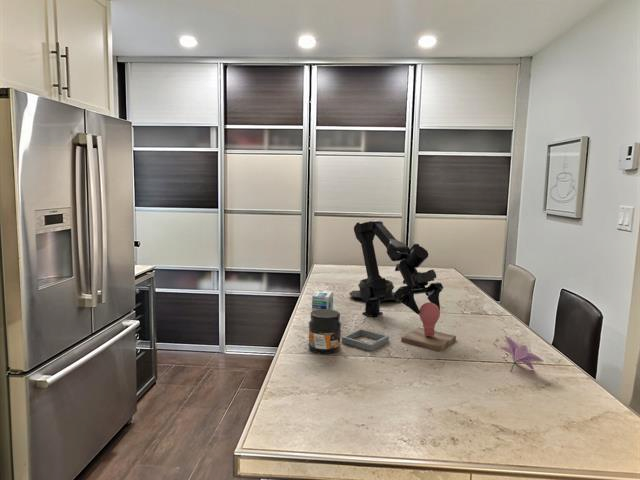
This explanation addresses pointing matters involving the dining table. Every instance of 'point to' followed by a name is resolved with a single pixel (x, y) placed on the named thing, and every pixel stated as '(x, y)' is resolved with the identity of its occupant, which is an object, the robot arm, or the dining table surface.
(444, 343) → the walnut board
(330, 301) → the light bulb box
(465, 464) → the dining table surface
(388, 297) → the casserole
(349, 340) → the holder frame
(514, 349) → the lily
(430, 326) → the light bulb
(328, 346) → the supplement container
